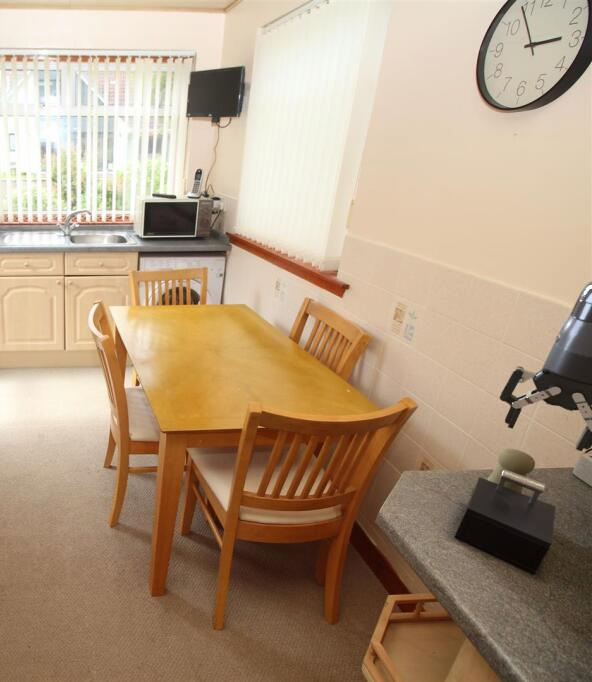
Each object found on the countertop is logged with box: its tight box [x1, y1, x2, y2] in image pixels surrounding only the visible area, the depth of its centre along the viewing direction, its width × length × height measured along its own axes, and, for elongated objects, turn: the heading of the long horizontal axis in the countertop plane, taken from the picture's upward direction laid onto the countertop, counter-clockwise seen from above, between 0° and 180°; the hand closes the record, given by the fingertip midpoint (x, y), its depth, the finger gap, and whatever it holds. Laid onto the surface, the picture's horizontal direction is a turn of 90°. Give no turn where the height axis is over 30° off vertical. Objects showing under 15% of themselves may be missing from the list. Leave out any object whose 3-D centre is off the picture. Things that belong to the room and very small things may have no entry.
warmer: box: [454, 484, 550, 576], centre depth 82 cm, size 12×11×6 cm
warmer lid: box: [466, 469, 557, 548], centre depth 80 cm, size 12×11×5 cm
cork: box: [486, 448, 536, 493], centre depth 91 cm, size 6×6×11 cm
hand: (543, 437), depth 79 cm, fingers open, 8 cm apart
